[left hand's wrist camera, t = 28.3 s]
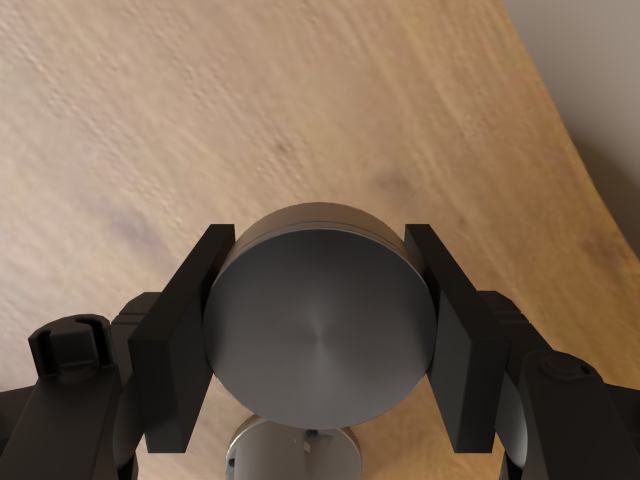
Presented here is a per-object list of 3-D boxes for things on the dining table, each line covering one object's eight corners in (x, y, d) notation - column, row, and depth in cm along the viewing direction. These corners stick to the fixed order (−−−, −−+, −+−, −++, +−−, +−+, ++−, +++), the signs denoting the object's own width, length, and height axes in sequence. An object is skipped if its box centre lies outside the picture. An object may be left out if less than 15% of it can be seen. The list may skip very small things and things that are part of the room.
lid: (337, 408, 14) (339, 462, 12) (181, 314, 12) (157, 358, 10) (461, 279, 12) (488, 319, 10) (297, 157, 11) (293, 175, 9)
